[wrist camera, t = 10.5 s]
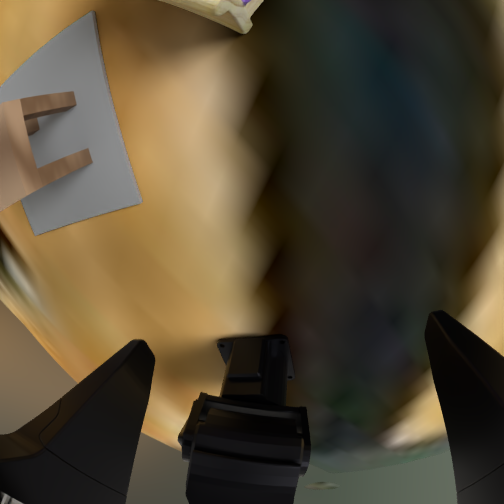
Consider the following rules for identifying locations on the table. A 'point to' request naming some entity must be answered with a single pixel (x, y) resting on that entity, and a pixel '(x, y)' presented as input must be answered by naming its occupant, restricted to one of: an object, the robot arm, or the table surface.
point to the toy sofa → (222, 11)
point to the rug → (74, 130)
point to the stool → (19, 150)
